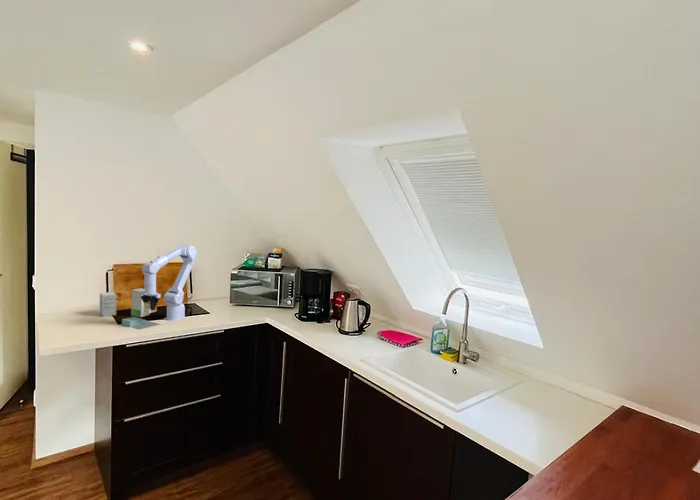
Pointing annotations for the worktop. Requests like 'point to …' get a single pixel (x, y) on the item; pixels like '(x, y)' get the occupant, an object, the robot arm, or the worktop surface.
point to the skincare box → (138, 303)
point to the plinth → (132, 321)
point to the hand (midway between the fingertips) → (150, 309)
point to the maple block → (148, 308)
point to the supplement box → (108, 304)
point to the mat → (145, 324)
